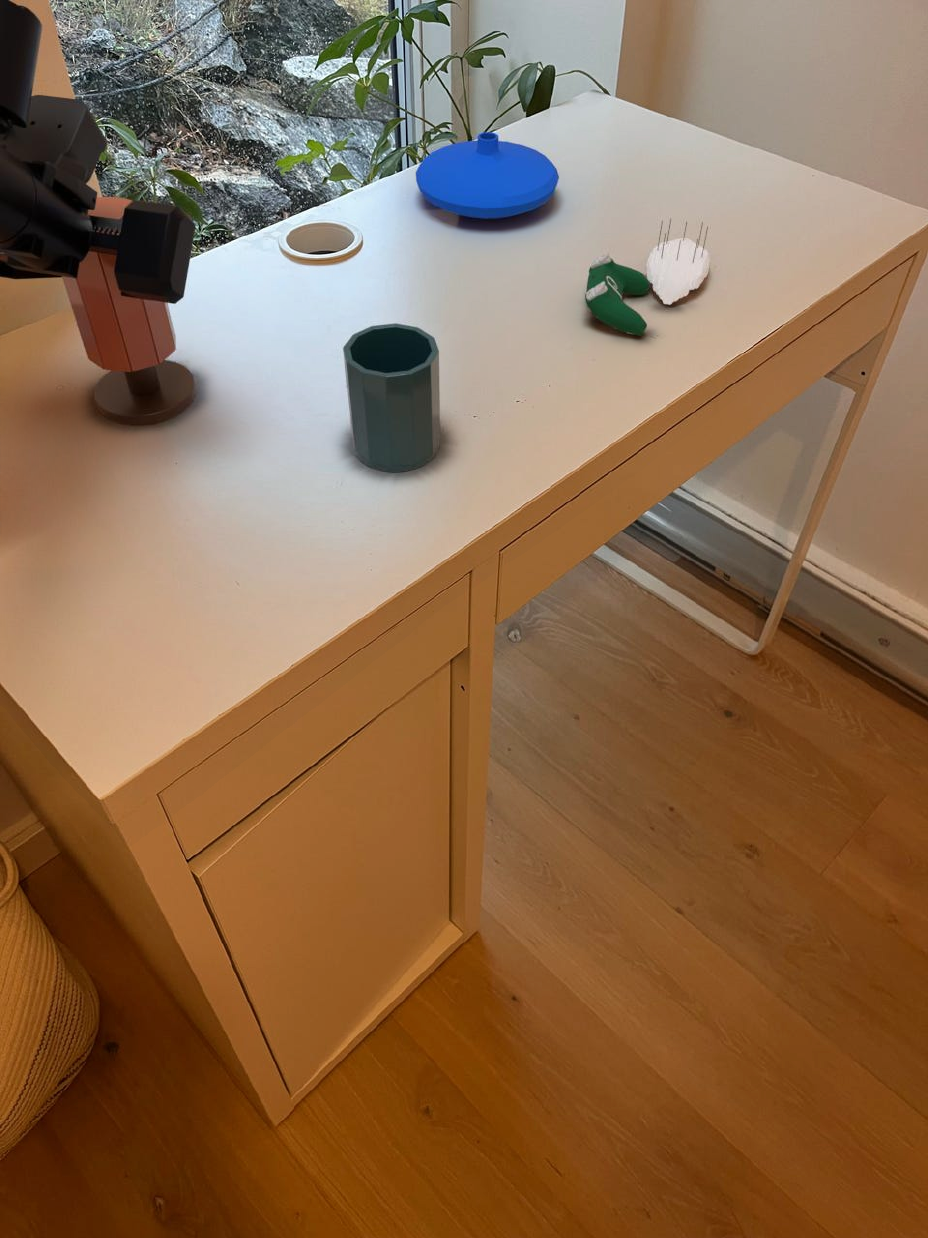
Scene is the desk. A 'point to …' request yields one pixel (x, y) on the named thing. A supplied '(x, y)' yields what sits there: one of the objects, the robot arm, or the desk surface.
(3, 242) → the robot arm
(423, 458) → the teal cup
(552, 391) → the desk surface
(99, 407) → the towel holder
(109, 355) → the fluted orange cylinder
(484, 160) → the vase
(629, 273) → the green christmas stockings
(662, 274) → the pincushion
